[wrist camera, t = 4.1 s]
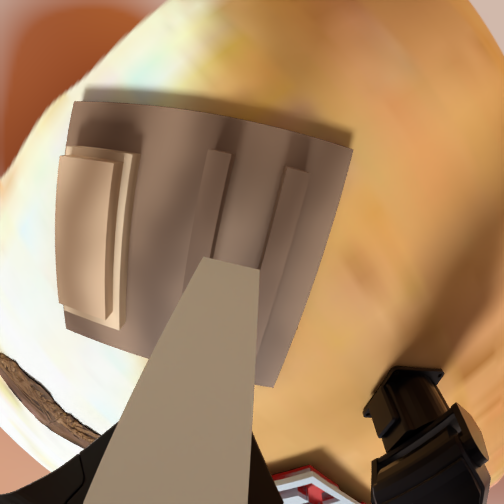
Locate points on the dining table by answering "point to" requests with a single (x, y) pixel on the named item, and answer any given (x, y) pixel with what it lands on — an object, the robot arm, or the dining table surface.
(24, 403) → the wooden fragment
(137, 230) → the walnut rack
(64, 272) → the upper oak offcut
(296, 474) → the maze game
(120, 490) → the taupe rectangular block
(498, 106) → the dining table surface
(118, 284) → the lower oak offcut
